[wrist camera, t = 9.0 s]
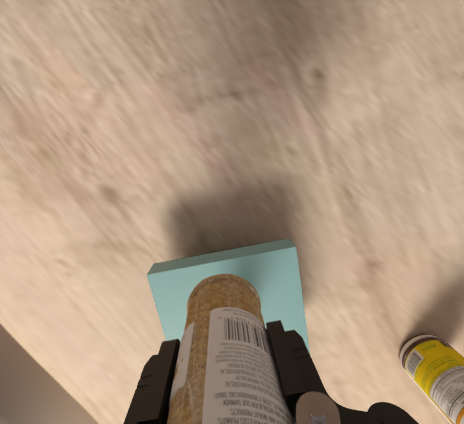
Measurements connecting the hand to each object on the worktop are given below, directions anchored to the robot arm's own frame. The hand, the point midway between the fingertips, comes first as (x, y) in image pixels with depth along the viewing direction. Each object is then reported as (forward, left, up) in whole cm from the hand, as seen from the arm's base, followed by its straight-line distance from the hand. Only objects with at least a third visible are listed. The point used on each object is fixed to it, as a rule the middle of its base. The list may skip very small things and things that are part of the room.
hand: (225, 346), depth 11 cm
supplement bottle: (+17, +20, -13) cm, 29 cm away
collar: (+5, 0, -10) cm, 11 cm away
